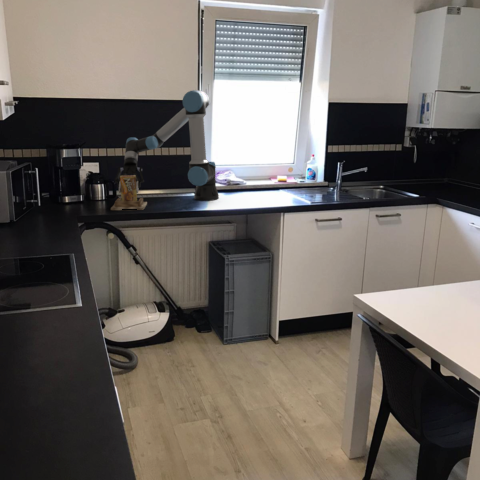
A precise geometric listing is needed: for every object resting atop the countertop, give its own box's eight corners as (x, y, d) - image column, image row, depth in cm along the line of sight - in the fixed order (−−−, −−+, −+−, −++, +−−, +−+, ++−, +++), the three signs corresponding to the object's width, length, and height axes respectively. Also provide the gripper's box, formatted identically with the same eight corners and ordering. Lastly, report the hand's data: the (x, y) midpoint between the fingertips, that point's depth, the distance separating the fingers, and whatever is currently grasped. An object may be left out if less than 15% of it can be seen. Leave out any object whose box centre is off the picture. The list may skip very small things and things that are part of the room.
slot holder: (147, 203, 316) (146, 196, 315) (143, 209, 298) (142, 202, 297) (116, 204, 315) (116, 197, 314) (110, 210, 297) (110, 202, 296)
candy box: (137, 201, 309) (135, 175, 305) (137, 202, 305) (135, 176, 301) (121, 202, 307) (119, 175, 303) (121, 203, 303) (119, 176, 299)
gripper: (150, 164, 318) (148, 195, 307) (113, 164, 317) (110, 195, 306) (148, 156, 312) (147, 187, 300) (111, 156, 311) (107, 188, 299)
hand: (128, 191), depth 303 cm, fingers closed on candy box, 9 cm apart
